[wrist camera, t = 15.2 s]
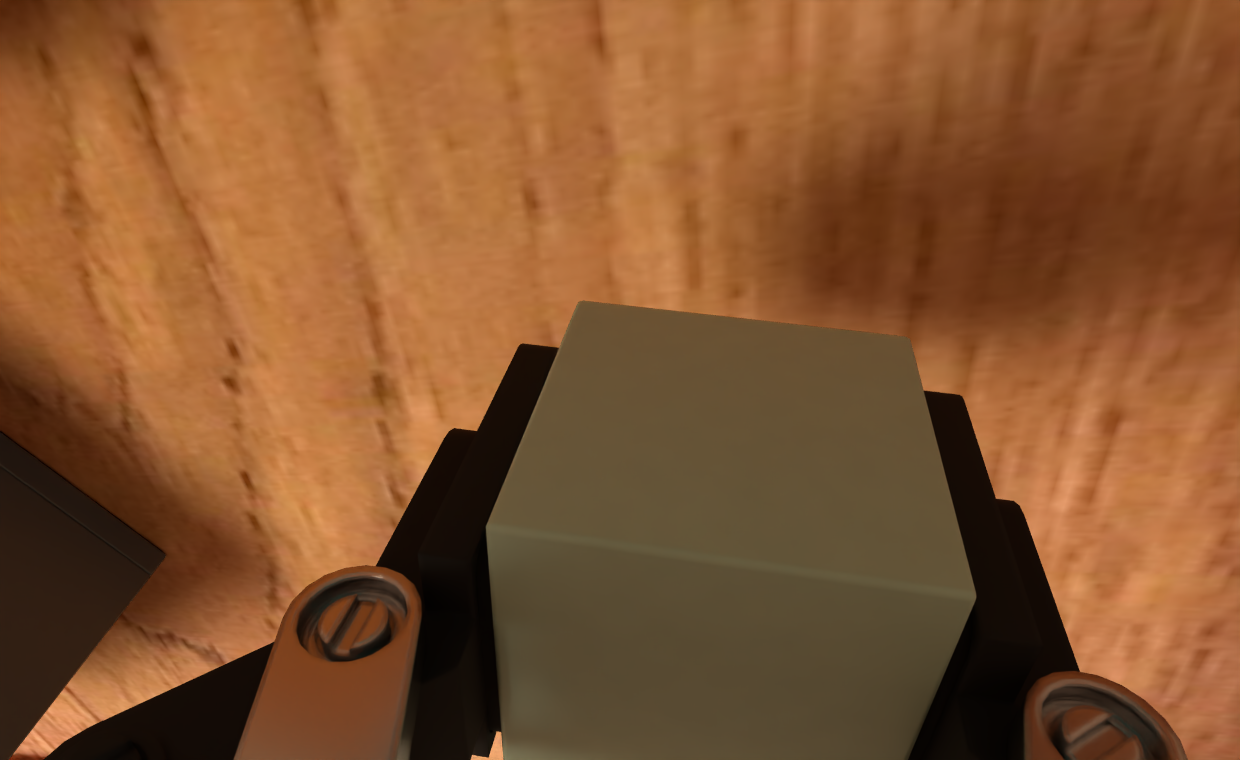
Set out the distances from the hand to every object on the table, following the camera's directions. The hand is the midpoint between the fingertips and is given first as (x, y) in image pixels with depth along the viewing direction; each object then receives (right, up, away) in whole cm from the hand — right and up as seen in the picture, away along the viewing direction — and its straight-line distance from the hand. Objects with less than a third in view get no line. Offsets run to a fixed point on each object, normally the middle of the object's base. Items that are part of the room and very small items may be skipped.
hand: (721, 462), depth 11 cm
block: (0, 0, 0) cm, 0 cm away
